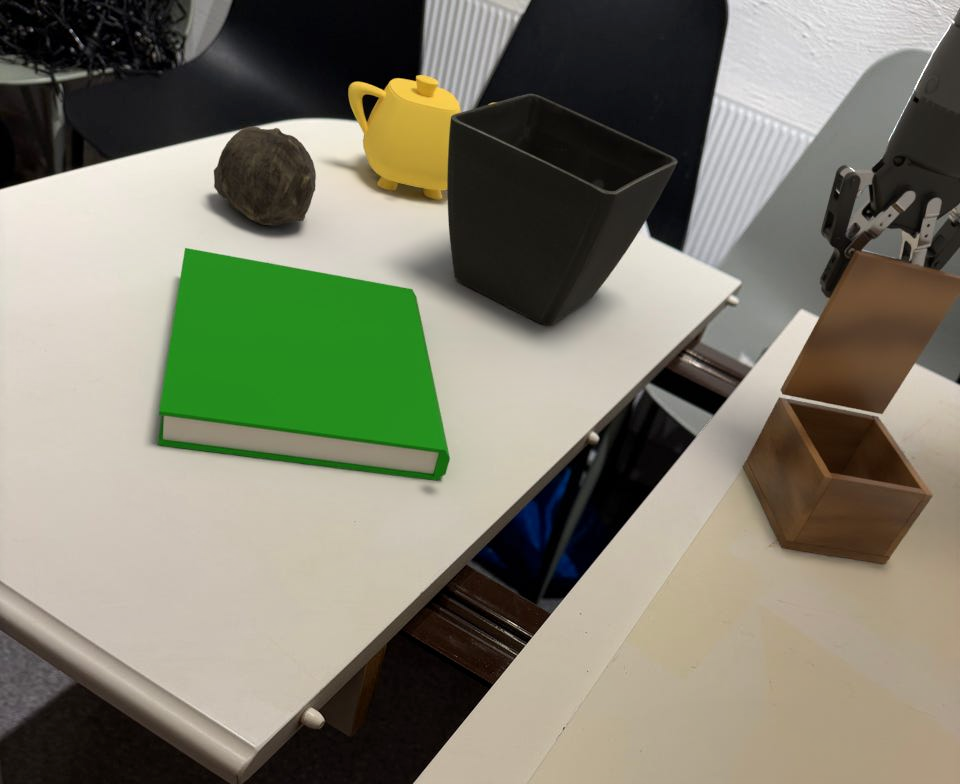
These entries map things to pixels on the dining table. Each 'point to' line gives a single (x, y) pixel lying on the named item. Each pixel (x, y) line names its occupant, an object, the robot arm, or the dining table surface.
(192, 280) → the book
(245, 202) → the rock
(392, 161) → the teapot
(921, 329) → the lid
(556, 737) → the dining table surface
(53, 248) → the dining table surface
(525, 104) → the flower pot
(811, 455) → the open wooden box
